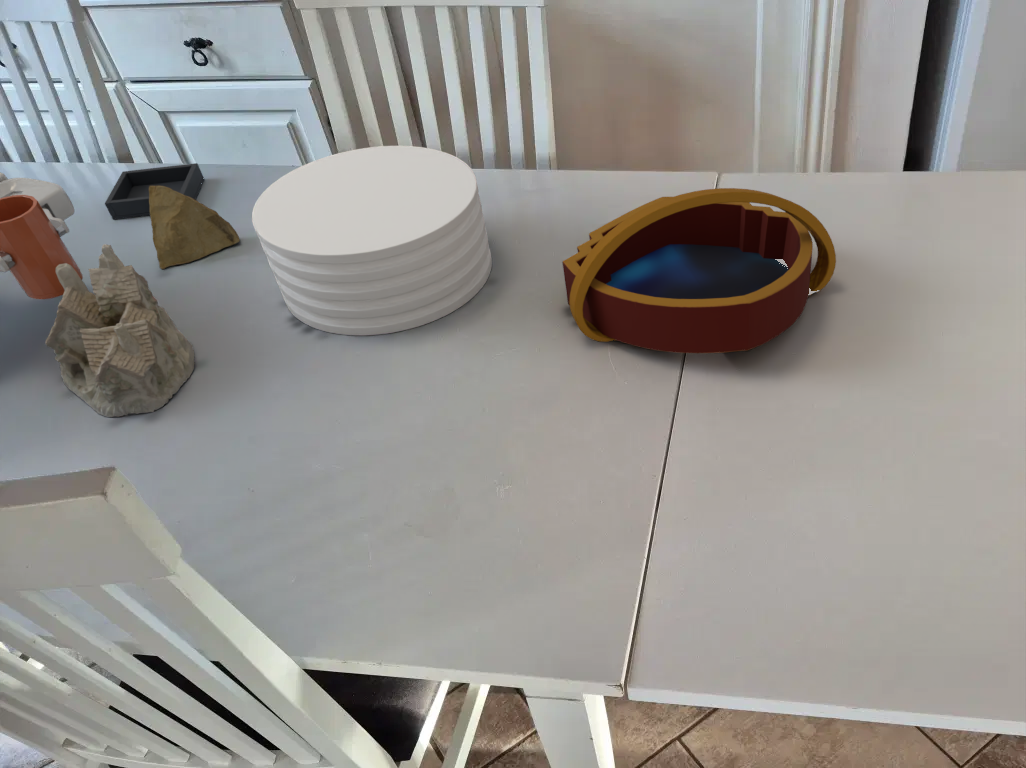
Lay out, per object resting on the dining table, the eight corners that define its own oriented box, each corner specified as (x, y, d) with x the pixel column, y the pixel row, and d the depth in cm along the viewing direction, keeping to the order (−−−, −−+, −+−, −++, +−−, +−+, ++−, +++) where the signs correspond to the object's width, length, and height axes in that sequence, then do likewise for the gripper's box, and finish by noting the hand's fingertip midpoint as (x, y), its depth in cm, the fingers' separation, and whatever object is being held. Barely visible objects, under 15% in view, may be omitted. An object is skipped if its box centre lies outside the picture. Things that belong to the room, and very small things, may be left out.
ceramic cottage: (87, 336, 107) (21, 234, 95) (216, 335, 107) (165, 233, 95) (31, 425, 97) (-51, 322, 85) (173, 424, 97) (110, 322, 85)
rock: (247, 212, 123) (177, 206, 123) (222, 186, 115) (147, 179, 114) (238, 283, 122) (167, 277, 121) (213, 262, 113) (136, 255, 113)
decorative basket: (790, 246, 119) (792, 137, 110) (882, 338, 97) (895, 211, 87) (556, 289, 115) (538, 179, 106) (596, 397, 92) (577, 269, 83)
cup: (16, 301, 100) (-37, 225, 93) (40, 270, 104) (-9, 196, 97) (69, 298, 100) (20, 222, 92) (91, 267, 104) (46, 193, 97)
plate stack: (472, 206, 126) (457, 131, 118) (510, 307, 108) (495, 226, 99) (281, 243, 121) (251, 167, 113) (286, 356, 103) (251, 274, 94)
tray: (113, 219, 128) (104, 203, 126) (130, 187, 135) (122, 171, 133) (191, 210, 129) (183, 194, 127) (204, 179, 136) (197, 163, 134)
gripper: (-149, 248, 93) (-61, 269, 89) (5, 164, 105) (88, 179, 102) (-110, 296, 97) (-24, 318, 93) (33, 210, 110) (114, 226, 106)
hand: (36, 245), depth 98 cm, fingers closed on cup, 6 cm apart
